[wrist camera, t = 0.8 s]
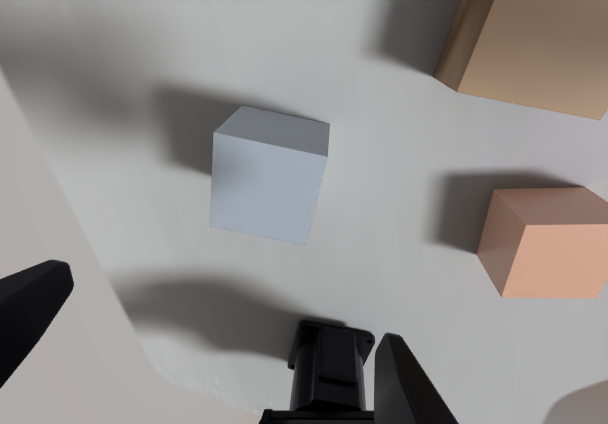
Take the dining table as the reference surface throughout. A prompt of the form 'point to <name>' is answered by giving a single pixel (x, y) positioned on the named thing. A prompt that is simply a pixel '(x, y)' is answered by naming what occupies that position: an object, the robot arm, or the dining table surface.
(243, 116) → the slate cube
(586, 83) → the walnut block
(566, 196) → the terracotta cube
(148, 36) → the dining table surface
